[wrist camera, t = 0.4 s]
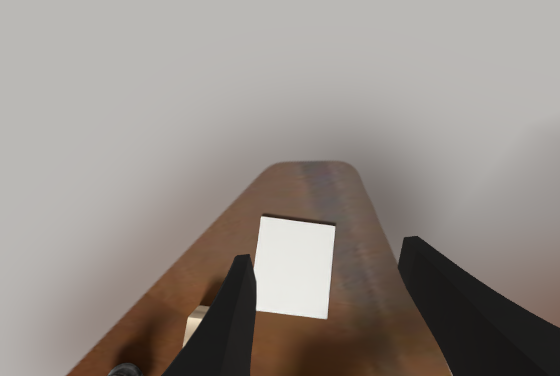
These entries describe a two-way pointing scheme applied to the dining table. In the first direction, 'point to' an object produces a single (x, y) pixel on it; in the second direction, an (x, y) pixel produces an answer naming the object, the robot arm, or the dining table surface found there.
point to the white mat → (294, 267)
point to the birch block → (194, 321)
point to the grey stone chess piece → (126, 370)
